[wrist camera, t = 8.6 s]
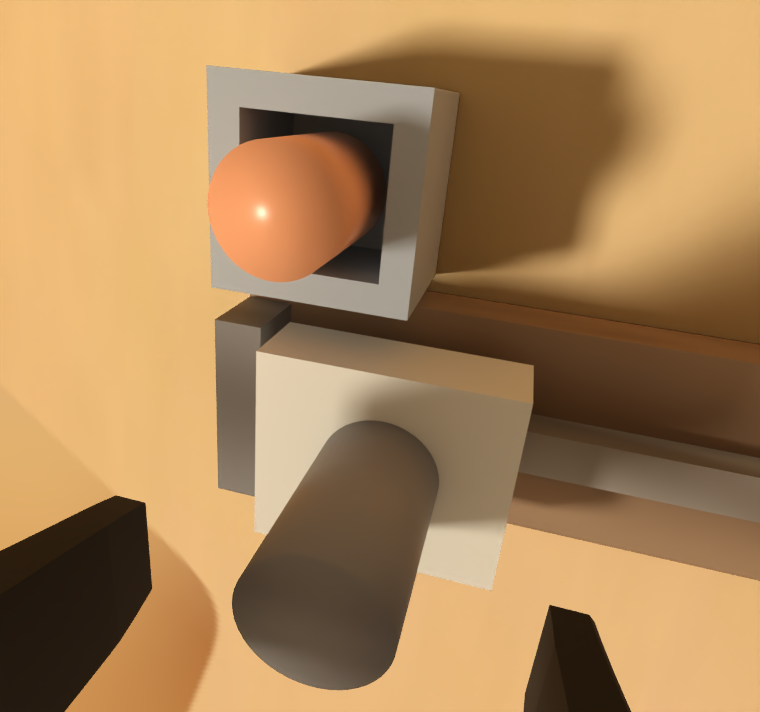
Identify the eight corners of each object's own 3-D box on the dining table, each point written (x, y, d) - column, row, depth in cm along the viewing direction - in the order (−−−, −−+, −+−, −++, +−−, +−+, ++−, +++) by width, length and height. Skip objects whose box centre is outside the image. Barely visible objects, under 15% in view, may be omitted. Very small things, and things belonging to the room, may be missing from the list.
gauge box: (435, 274, 16) (407, 320, 13) (279, 250, 17) (211, 287, 14) (460, 93, 15) (434, 87, 11) (283, 75, 15) (206, 65, 12)
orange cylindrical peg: (380, 250, 14) (335, 292, 11) (280, 235, 14) (209, 271, 11) (391, 137, 13) (345, 147, 10) (283, 125, 13) (206, 130, 10)
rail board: (1037, 608, 16) (1160, 731, 13) (268, 440, 20) (218, 502, 17) (1179, 412, 14) (1374, 504, 10) (272, 266, 17) (214, 300, 14)
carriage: (496, 536, 16) (473, 779, 10) (284, 486, 17) (154, 681, 11) (533, 365, 14) (531, 548, 8) (290, 321, 15) (134, 455, 9)
